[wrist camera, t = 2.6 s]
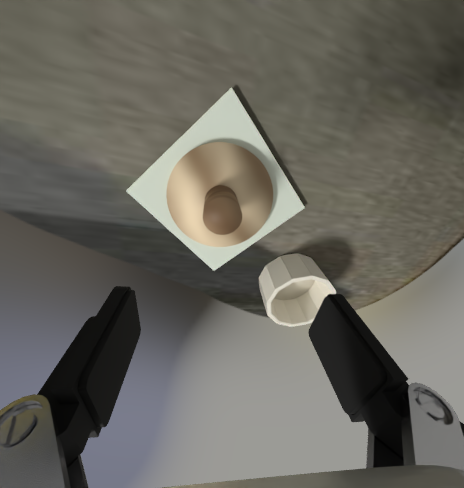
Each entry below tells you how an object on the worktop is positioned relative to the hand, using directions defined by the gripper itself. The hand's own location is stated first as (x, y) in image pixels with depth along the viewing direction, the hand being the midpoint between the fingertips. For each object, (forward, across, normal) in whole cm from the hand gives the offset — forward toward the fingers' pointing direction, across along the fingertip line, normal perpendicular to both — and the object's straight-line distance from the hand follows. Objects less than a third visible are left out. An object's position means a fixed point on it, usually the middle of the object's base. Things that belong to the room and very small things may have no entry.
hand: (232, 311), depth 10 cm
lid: (+18, 0, 0) cm, 18 cm away
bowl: (+18, -13, +12) cm, 25 cm away
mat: (+18, 0, 0) cm, 18 cm away
